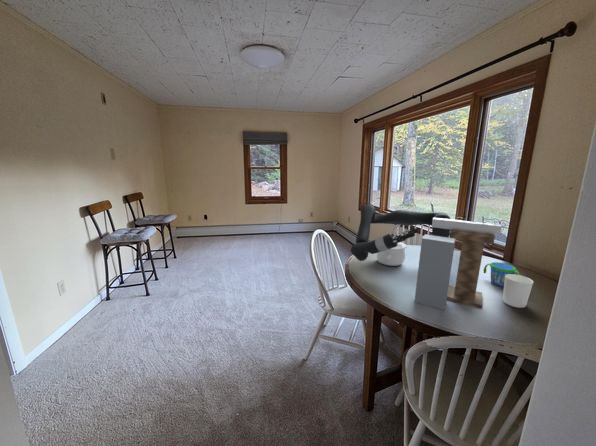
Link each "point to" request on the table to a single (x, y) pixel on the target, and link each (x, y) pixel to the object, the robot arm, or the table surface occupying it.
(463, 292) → the walnut pedestal
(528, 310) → the table surface
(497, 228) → the aluminium bar
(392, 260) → the pot
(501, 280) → the snack cup
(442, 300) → the slate plinth
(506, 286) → the candle holder
